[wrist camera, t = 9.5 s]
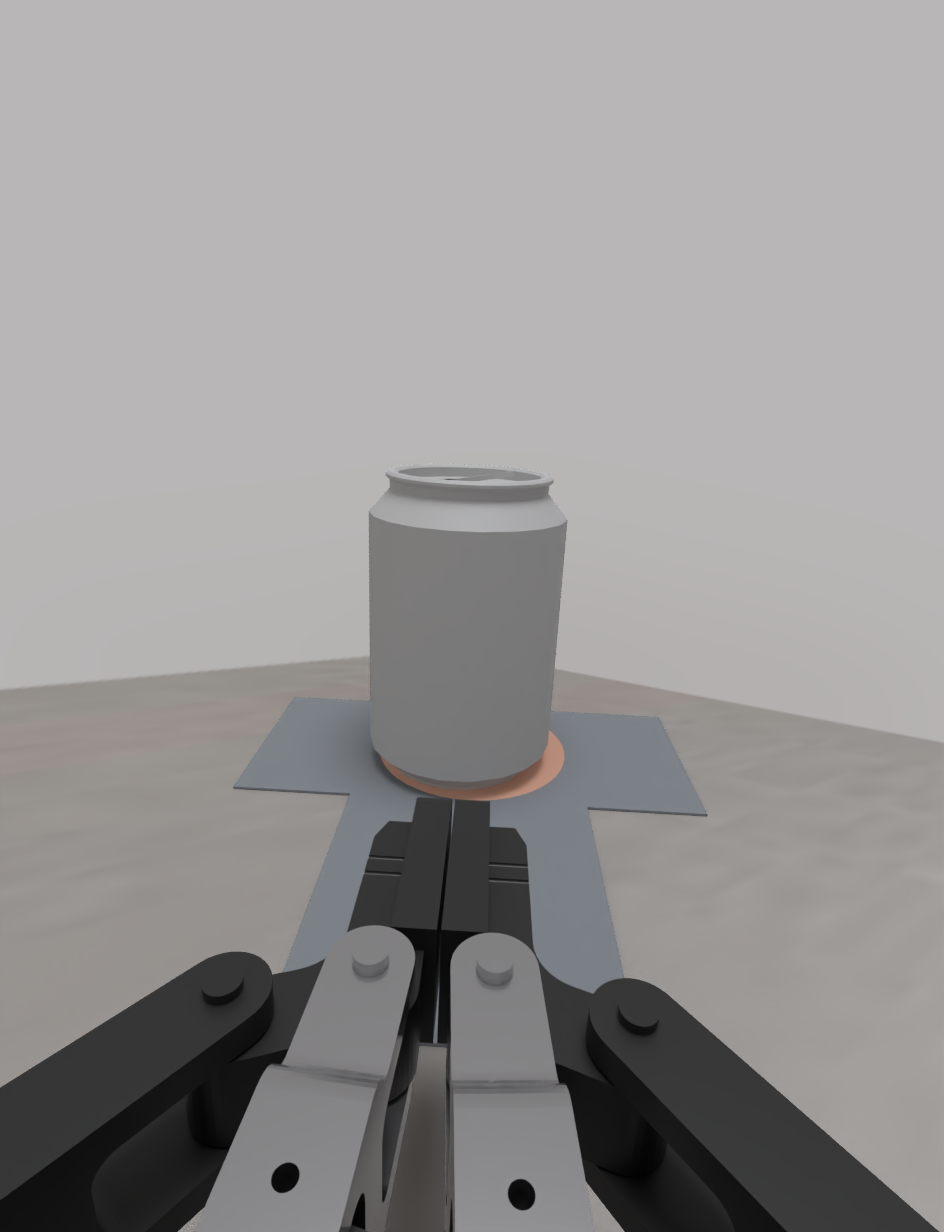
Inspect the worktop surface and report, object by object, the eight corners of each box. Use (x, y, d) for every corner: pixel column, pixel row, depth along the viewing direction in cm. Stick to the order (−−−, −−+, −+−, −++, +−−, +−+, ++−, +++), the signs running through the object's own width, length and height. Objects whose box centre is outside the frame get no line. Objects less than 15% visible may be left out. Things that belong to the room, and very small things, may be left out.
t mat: (657, 722, 33) (658, 716, 32) (833, 1079, 15) (835, 1069, 15) (294, 702, 33) (294, 696, 33) (75, 1028, 16) (74, 1017, 16)
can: (430, 699, 33) (436, 454, 30) (571, 738, 30) (598, 468, 26) (333, 766, 27) (325, 465, 23) (498, 825, 24) (520, 486, 20)
